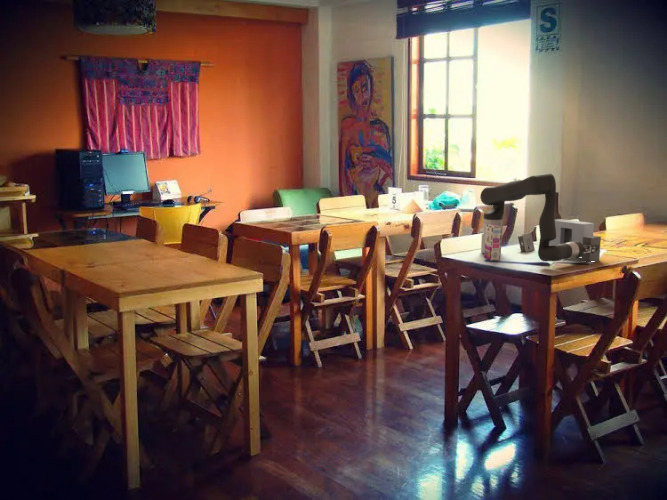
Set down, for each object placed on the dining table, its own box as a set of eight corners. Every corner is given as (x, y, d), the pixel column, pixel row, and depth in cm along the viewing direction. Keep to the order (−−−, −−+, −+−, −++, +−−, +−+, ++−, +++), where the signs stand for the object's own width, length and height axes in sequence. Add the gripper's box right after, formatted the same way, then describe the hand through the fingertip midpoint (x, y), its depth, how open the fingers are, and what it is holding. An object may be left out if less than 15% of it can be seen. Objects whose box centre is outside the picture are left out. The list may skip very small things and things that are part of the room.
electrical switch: (527, 252, 396) (526, 234, 395) (517, 252, 399) (517, 234, 398) (535, 250, 403) (534, 232, 402) (525, 250, 406) (525, 232, 405)
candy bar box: (500, 261, 370) (502, 226, 367) (490, 261, 369) (491, 226, 367) (493, 257, 381) (495, 223, 378) (483, 257, 380) (485, 223, 378)
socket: (582, 259, 377) (584, 224, 375) (547, 253, 393) (549, 220, 390) (591, 257, 382) (594, 223, 380) (557, 251, 398) (559, 218, 395)
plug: (589, 263, 367) (591, 237, 365) (581, 261, 370) (582, 236, 368) (600, 261, 373) (602, 236, 371) (592, 259, 376) (593, 235, 374)
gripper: (585, 244, 354) (606, 240, 365) (559, 240, 365) (580, 237, 376) (584, 260, 355) (605, 256, 366) (558, 255, 366) (579, 252, 377)
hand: (592, 246), depth 371 cm, fingers open, 5 cm apart
